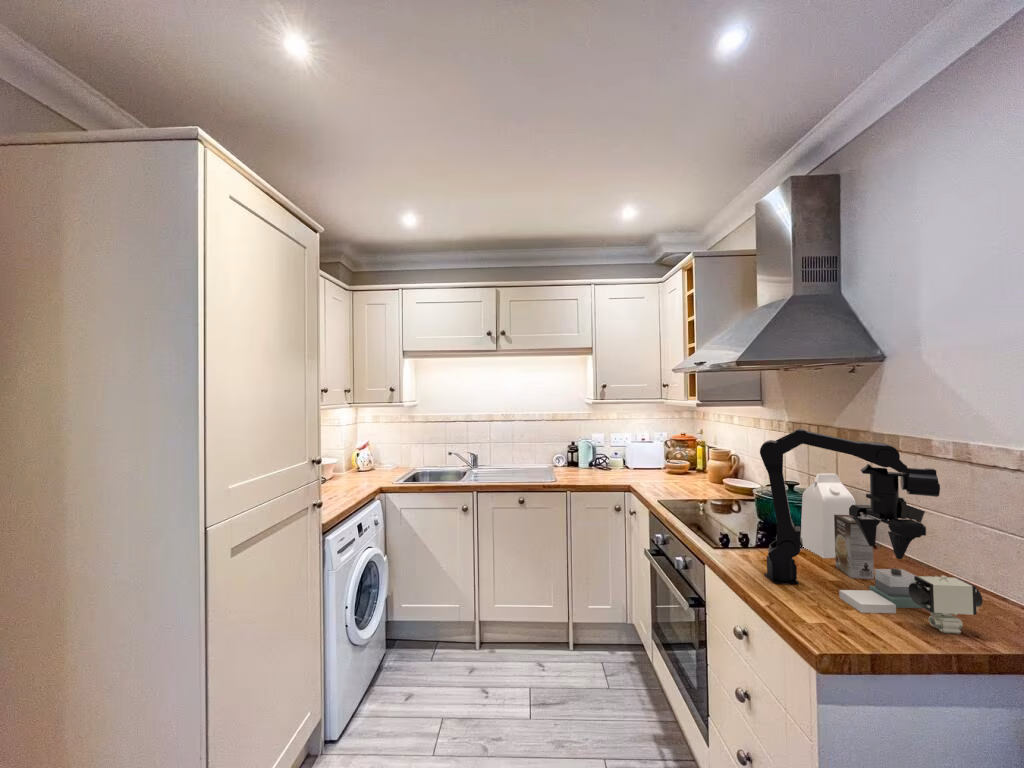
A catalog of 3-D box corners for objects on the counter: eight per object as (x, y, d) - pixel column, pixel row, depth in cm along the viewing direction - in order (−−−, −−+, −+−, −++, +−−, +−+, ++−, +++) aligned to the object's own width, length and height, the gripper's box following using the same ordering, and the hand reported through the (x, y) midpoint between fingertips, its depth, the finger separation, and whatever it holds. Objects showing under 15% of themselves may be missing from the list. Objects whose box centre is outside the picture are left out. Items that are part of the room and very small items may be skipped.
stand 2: (892, 607, 111) (892, 599, 111) (869, 593, 119) (869, 585, 119) (927, 608, 110) (926, 600, 110) (901, 593, 118) (900, 586, 118)
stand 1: (861, 612, 108) (861, 604, 108) (839, 597, 116) (839, 589, 116) (896, 613, 108) (895, 604, 108) (871, 598, 116) (871, 590, 116)
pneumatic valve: (984, 637, 97) (982, 581, 97) (924, 633, 99) (922, 578, 99) (963, 624, 102) (961, 571, 103) (906, 621, 104) (904, 569, 104)
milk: (834, 545, 156) (832, 470, 157) (860, 557, 144) (857, 476, 145) (800, 546, 156) (798, 471, 156) (823, 558, 144) (821, 477, 145)
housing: (919, 597, 112) (918, 573, 112) (890, 596, 112) (889, 573, 112) (903, 588, 117) (902, 566, 117) (875, 588, 117) (874, 565, 117)
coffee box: (834, 566, 138) (832, 513, 138) (857, 567, 136) (856, 514, 137) (850, 578, 129) (848, 522, 129) (875, 579, 127) (873, 523, 128)
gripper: (949, 501, 106) (951, 567, 106) (888, 485, 125) (889, 541, 125) (900, 500, 107) (901, 566, 107) (847, 484, 126) (848, 540, 125)
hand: (885, 552), depth 116 cm, fingers open, 9 cm apart
